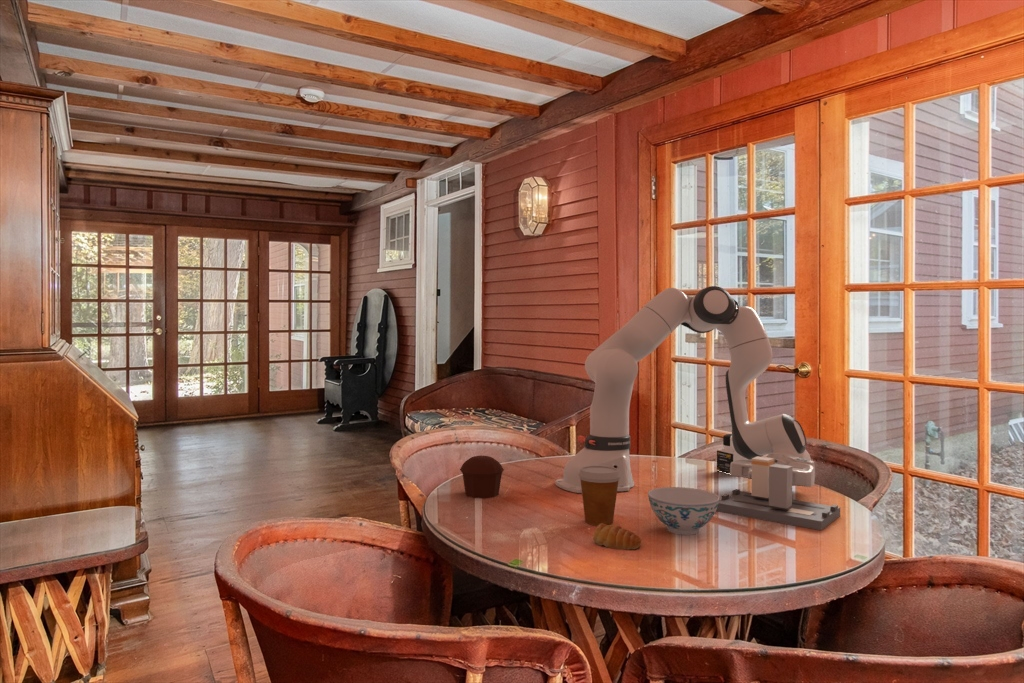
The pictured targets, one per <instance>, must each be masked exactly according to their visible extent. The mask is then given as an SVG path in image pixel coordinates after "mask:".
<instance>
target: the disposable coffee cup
mask: <svg viewBox="0 0 1024 683" xmlns="http://www.w3.org/2000/svg"><path fill="white" fill-rule="evenodd" d="M578 475H579V477H580V479H581V488H582V493H581V495H582V496H581V498H582V505H583V513H584V522H585V523H586V524H588V525H592V526H595V527H596V526H597V527H598V525H599V524H601V523H603V524H606V525H613V523H614V518H615V509H616V503H617V494H618V491H617V488H618V481H619V479H620V477H621V475H620V474H619V470H618V469H617V468H614V467H609V466H585V467H582V468H581V469H580V473H579V474H578Z"/></svg>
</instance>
